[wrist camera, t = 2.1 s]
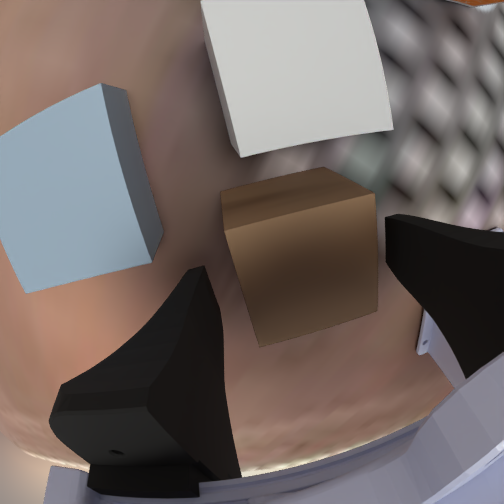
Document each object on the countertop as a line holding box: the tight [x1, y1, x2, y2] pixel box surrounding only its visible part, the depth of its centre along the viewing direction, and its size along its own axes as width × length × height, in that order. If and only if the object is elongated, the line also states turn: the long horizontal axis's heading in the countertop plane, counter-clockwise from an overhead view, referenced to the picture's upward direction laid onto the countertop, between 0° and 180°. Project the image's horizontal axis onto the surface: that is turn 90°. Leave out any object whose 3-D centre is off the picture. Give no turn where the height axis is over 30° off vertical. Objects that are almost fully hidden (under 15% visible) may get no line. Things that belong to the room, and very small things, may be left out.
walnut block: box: [220, 167, 378, 347], centre depth 12 cm, size 5×5×5 cm
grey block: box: [201, 0, 393, 158], centre depth 9 cm, size 5×5×5 cm
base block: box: [0, 83, 164, 294], centre depth 11 cm, size 7×7×4 cm
